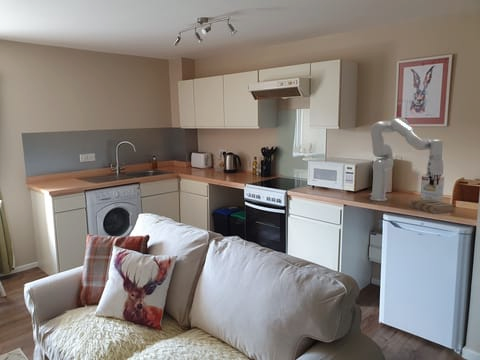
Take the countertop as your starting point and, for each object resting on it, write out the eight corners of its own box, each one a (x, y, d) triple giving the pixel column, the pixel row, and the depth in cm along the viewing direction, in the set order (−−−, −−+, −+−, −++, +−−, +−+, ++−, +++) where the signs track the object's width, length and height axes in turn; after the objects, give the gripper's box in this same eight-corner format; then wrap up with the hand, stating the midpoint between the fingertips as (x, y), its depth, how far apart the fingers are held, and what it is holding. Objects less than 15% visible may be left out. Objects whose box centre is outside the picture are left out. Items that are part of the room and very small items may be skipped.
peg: (429, 186, 249) (430, 173, 248) (433, 186, 250) (434, 173, 249) (433, 187, 246) (434, 174, 245) (437, 187, 247) (438, 174, 246)
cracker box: (419, 202, 274) (421, 174, 271) (424, 201, 277) (426, 173, 274) (437, 205, 262) (439, 176, 259) (442, 204, 265) (444, 176, 262)
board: (410, 207, 258) (411, 200, 257) (428, 205, 263) (429, 198, 262) (433, 213, 239) (434, 206, 238) (452, 211, 244) (453, 204, 243)
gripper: (430, 158, 239) (428, 186, 242) (449, 157, 244) (447, 184, 247) (421, 157, 246) (419, 184, 249) (440, 157, 251) (438, 183, 254)
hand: (433, 184), depth 248 cm, fingers closed on peg, 3 cm apart
